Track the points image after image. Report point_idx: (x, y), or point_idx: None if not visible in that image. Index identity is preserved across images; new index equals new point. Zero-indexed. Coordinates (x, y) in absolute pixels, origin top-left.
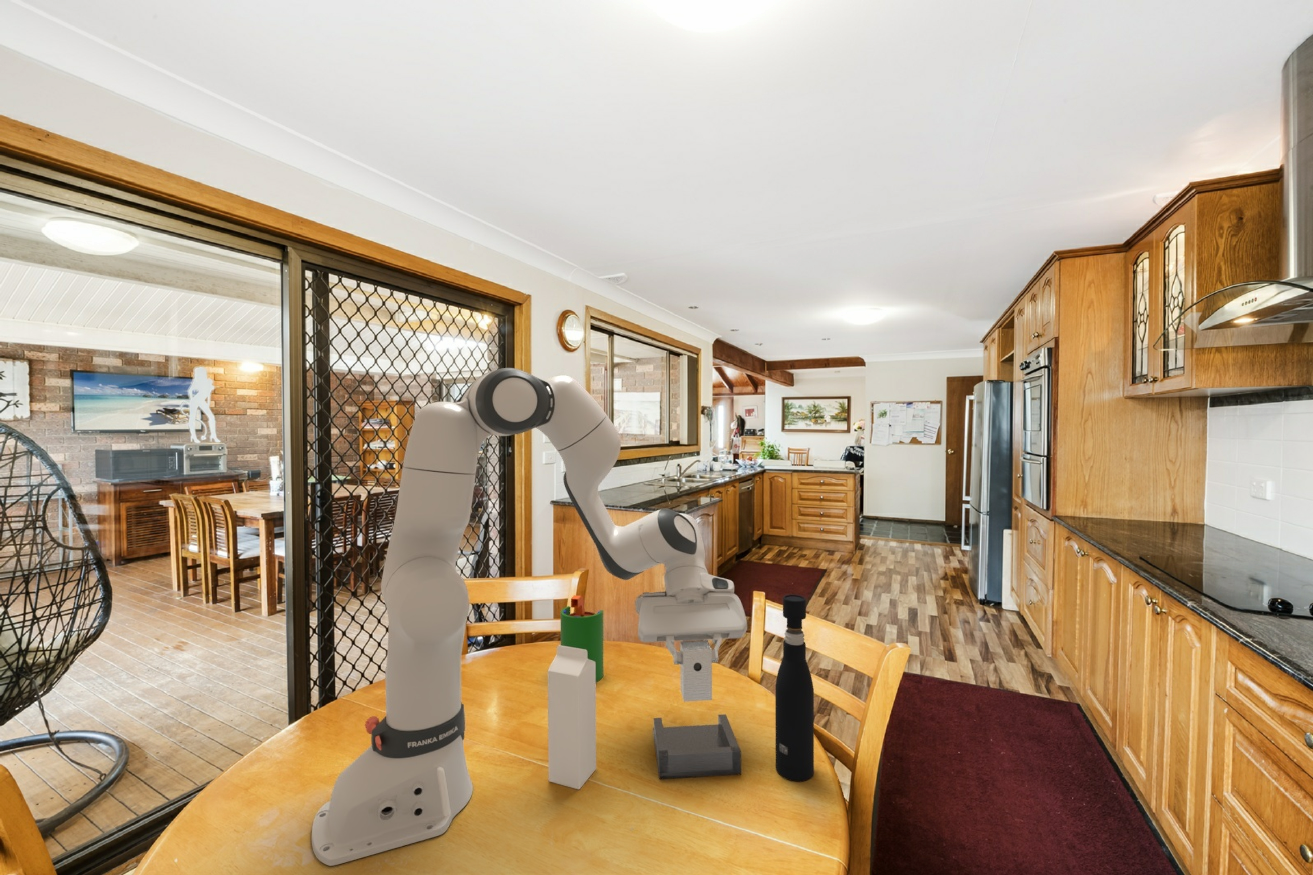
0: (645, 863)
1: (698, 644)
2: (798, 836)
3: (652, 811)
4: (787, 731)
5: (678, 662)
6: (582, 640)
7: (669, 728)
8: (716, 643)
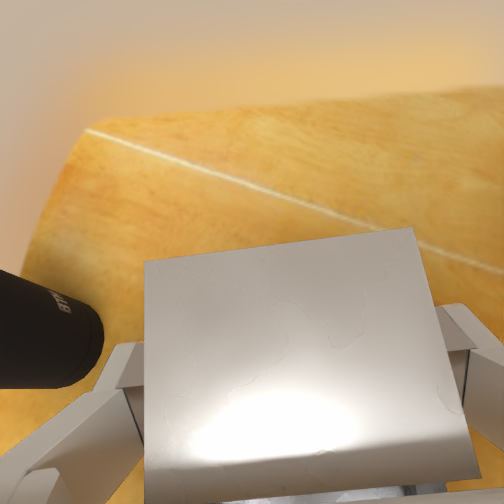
0: (378, 97)
1: (259, 375)
2: (125, 163)
3: (383, 201)
4: (17, 277)
5: None
6: None
7: None
8: (66, 429)
